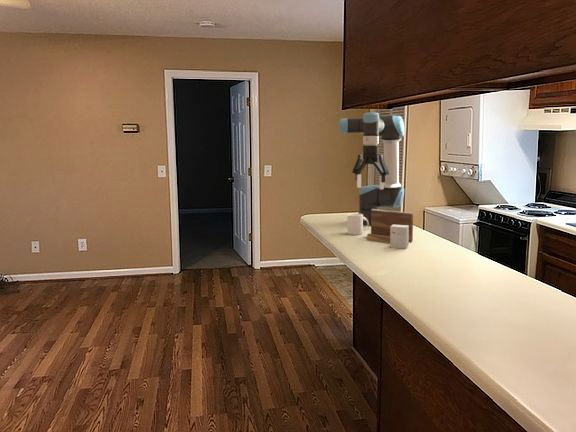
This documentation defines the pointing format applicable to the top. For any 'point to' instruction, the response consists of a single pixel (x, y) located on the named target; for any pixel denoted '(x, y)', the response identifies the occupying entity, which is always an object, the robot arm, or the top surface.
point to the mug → (355, 224)
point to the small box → (399, 236)
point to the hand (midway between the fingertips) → (370, 188)
